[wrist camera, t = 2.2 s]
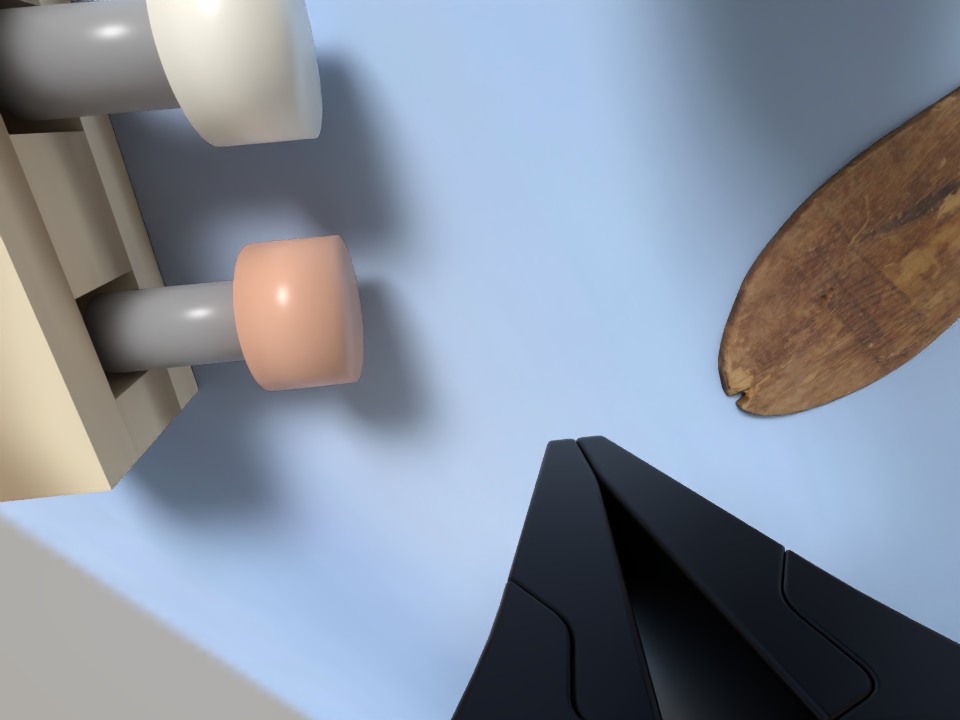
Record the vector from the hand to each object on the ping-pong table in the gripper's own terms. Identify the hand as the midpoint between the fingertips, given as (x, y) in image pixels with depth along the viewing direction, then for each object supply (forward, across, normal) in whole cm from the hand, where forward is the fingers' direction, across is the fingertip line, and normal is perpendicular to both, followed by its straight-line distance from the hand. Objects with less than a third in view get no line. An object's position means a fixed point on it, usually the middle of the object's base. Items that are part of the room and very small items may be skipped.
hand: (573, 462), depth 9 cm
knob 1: (+11, +8, -7) cm, 16 cm away
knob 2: (+11, +8, 0) cm, 14 cm away
